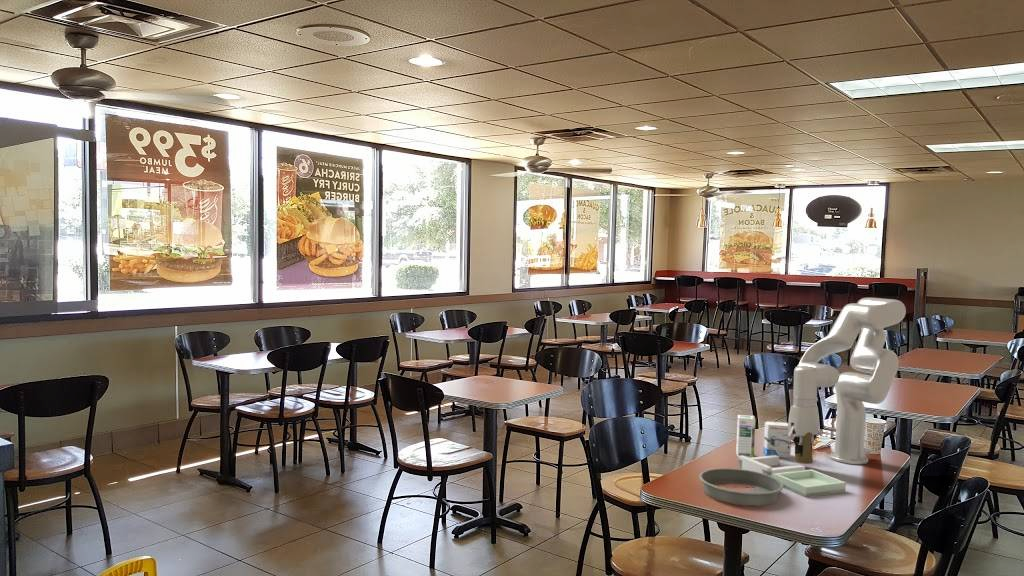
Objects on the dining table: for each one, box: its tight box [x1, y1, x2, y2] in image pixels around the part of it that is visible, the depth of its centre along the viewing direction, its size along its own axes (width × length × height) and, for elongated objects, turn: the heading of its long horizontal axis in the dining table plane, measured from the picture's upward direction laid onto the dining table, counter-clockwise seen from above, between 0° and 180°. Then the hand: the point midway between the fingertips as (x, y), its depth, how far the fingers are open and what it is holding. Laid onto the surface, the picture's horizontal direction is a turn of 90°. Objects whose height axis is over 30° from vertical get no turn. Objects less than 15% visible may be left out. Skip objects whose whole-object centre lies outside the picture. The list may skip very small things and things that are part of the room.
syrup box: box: [735, 414, 756, 458], centre depth 265 cm, size 6×6×14 cm
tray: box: [773, 468, 847, 498], centre depth 231 cm, size 16×14×3 cm
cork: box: [793, 432, 814, 465], centre depth 252 cm, size 6×6×11 cm
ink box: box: [763, 421, 792, 459], centre depth 266 cm, size 9×5×12 cm, turn 84°
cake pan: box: [698, 467, 784, 506], centre depth 223 cm, size 25×25×4 cm
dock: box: [737, 455, 806, 477], centre depth 247 cm, size 16×14×4 cm
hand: (803, 454), depth 252 cm, fingers closed on cork, 3 cm apart
